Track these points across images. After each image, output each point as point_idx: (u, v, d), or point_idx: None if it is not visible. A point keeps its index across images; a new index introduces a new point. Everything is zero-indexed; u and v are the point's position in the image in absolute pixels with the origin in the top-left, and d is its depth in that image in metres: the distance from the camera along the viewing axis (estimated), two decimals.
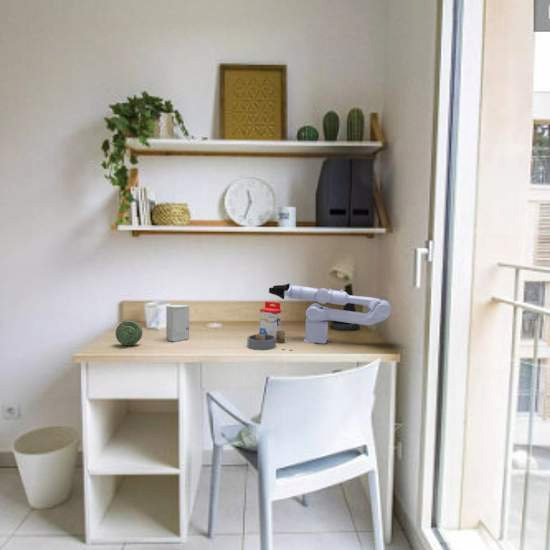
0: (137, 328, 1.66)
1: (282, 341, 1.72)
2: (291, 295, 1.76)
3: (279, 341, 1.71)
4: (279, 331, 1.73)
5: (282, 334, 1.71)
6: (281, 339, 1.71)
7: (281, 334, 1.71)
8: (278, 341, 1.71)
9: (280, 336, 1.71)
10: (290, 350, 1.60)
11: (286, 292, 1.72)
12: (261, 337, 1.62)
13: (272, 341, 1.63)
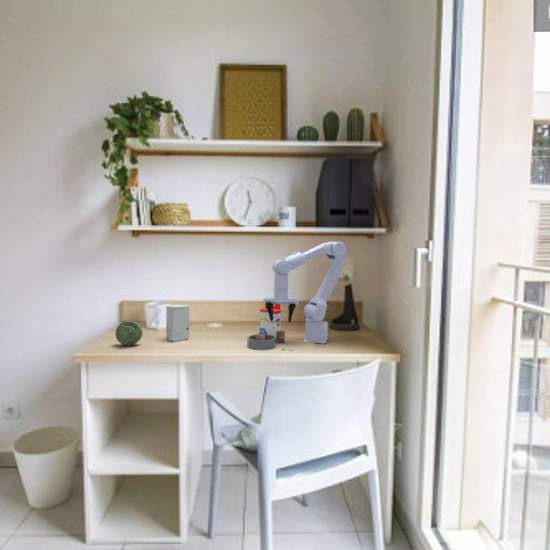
0: (137, 328, 1.66)
1: (282, 341, 1.72)
2: None
3: (279, 341, 1.71)
4: (279, 331, 1.73)
5: (282, 334, 1.71)
6: (281, 339, 1.71)
7: (281, 334, 1.71)
8: (278, 341, 1.71)
9: (280, 336, 1.71)
10: (290, 350, 1.60)
11: (297, 302, 1.70)
12: (261, 337, 1.62)
13: (272, 341, 1.63)
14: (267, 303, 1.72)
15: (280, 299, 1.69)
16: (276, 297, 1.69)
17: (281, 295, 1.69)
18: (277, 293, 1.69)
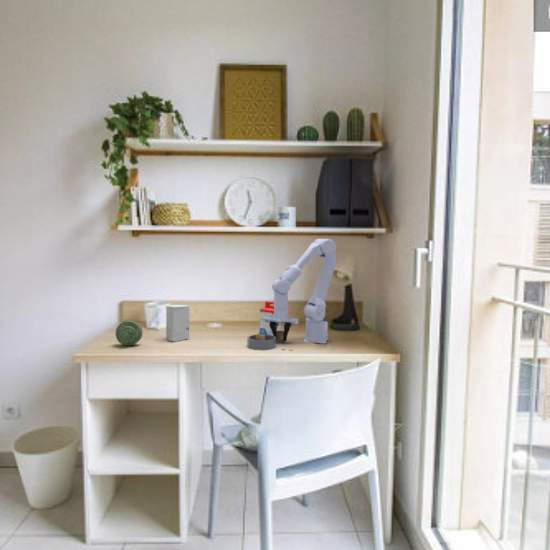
0: (137, 328, 1.66)
1: (282, 341, 1.72)
2: None
3: (279, 341, 1.71)
4: (279, 331, 1.73)
5: (282, 334, 1.71)
6: (281, 339, 1.71)
7: (281, 334, 1.71)
8: (278, 341, 1.71)
9: (280, 336, 1.71)
10: (290, 350, 1.60)
11: (297, 321, 1.70)
12: (261, 337, 1.62)
13: (272, 341, 1.63)
14: None
15: (280, 318, 1.69)
16: (276, 316, 1.70)
17: (281, 314, 1.69)
18: (277, 312, 1.70)
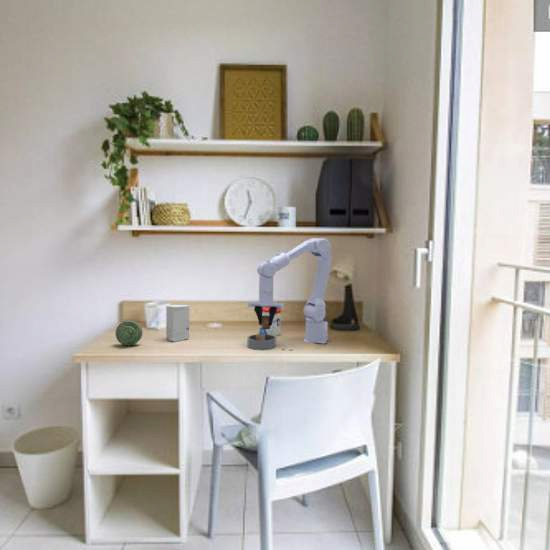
0: (137, 328, 1.66)
1: (267, 326, 1.67)
2: None
3: (264, 326, 1.67)
4: (264, 316, 1.69)
5: (267, 318, 1.67)
6: (266, 323, 1.67)
7: (266, 318, 1.67)
8: (263, 326, 1.67)
9: (265, 320, 1.67)
10: (290, 350, 1.60)
11: (283, 306, 1.66)
12: (261, 337, 1.62)
13: (272, 341, 1.63)
14: (252, 306, 1.69)
15: (265, 302, 1.65)
16: (261, 300, 1.66)
17: (266, 298, 1.65)
18: (262, 296, 1.65)
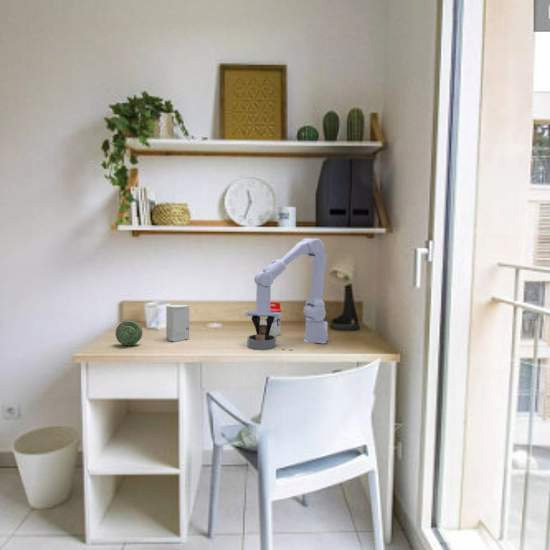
0: (137, 328, 1.66)
1: (265, 335, 1.67)
2: None
3: None
4: (262, 325, 1.69)
5: (265, 328, 1.67)
6: (263, 333, 1.67)
7: (263, 328, 1.66)
8: None
9: (263, 330, 1.66)
10: (290, 350, 1.60)
11: (280, 315, 1.66)
12: (261, 337, 1.62)
13: (272, 341, 1.63)
14: None
15: (262, 312, 1.65)
16: (258, 310, 1.65)
17: (263, 308, 1.65)
18: (259, 306, 1.65)
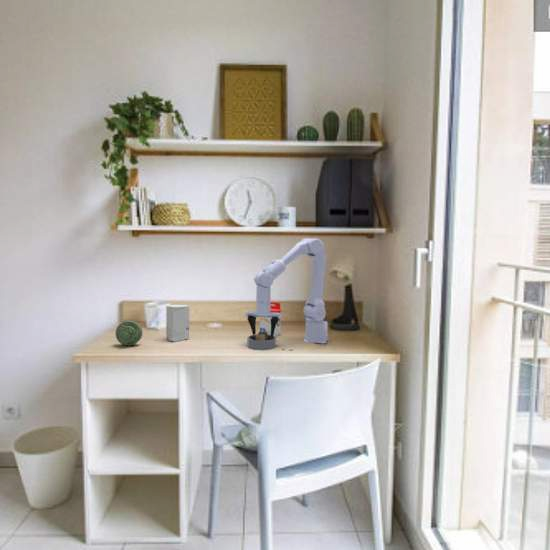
0: (137, 328, 1.66)
1: None
2: None
3: None
4: (262, 332, 1.69)
5: None
6: None
7: None
8: None
9: None
10: (290, 350, 1.60)
11: (280, 316, 1.66)
12: (261, 337, 1.62)
13: (272, 341, 1.63)
14: (249, 316, 1.68)
15: (262, 312, 1.65)
16: (258, 310, 1.65)
17: (263, 308, 1.65)
18: (259, 306, 1.65)
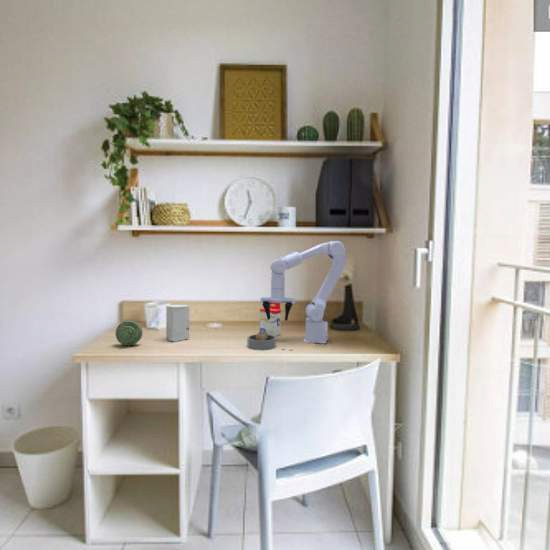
0: (137, 328, 1.66)
1: None
2: None
3: None
4: (262, 332, 1.69)
5: None
6: None
7: None
8: None
9: None
10: (290, 350, 1.60)
11: (294, 301, 1.73)
12: (261, 337, 1.62)
13: (272, 341, 1.63)
14: (264, 302, 1.75)
15: (277, 298, 1.72)
16: (273, 296, 1.73)
17: (278, 294, 1.72)
18: (274, 292, 1.72)
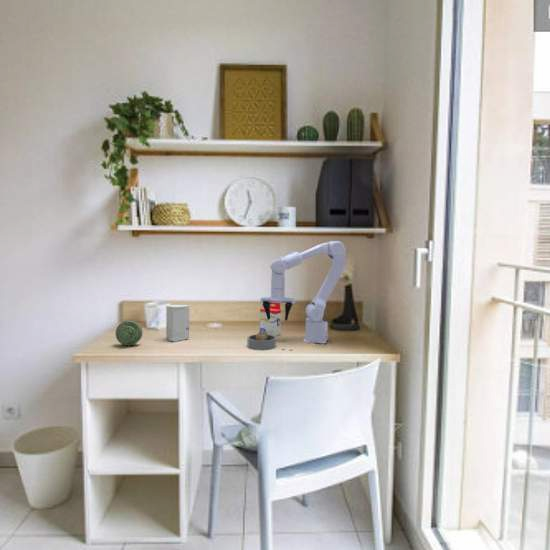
0: (137, 328, 1.66)
1: None
2: None
3: None
4: (262, 332, 1.69)
5: None
6: None
7: None
8: None
9: None
10: (290, 350, 1.60)
11: (294, 301, 1.73)
12: (261, 337, 1.62)
13: (272, 341, 1.63)
14: (264, 302, 1.76)
15: (277, 298, 1.72)
16: (273, 296, 1.73)
17: (278, 294, 1.72)
18: (274, 292, 1.72)
